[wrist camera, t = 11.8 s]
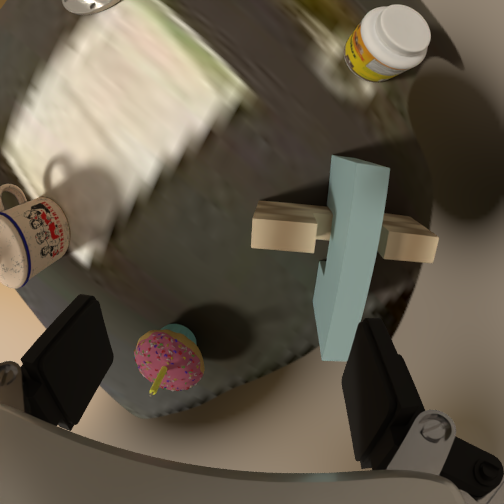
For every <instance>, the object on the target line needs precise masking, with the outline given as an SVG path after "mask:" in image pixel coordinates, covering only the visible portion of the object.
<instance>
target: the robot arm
mask: <svg viewBox="0 0 504 504" xmlns="http://www.w3.org/2000/svg"><path fill="white" fill-rule="evenodd" d="M119 1H120V0H62V3H63V5H64V7H65V8H66V9H67V10H69V11H70V12H72V13H75V14H78V15H90V14H94V13H98V12H100V11H103V10H105V9H107V8H109V7H111V6H113V5H114V4H116V3H117V2H119ZM21 361H22V363H23V365H22V366H21V367H20V366H19V365H18V364H17V363H15V362H13V361H6V362H3V363H0V504H504V477H503V474H504V471H503V466H502V464H501V462H500V461H499V459H498V458H496V457H495V456H494V455H492V454H490V453H488V452H486V451H483V450H481V449H479V448H477V447H475V446H473V445H471V444H469V443H467V442H466V441H464V440H462V439H460V438H457V437H456V436H455V435H456V427H455V424H454V422H453V420H452V419H451V418H450V417H449V416H448V415H447V414H445V413H443V412H441V411H437V410H427V411H425V409H424V406H423V404H422V401H421V399H420V397H419V394H418V392H417V389H416V387H415V384H414V382H413V380H412V377H411V375H410V373H409V371H408V368H407V366H406V364H405V361H404V359H403V358H402V356H401V355H399V354H397V351H396V349H395V347H394V345H393V342H392V340H391V338H390V336H389V334H388V331H387V329H386V327H385V325H384V323H383V321H382V319H380V318H365V319H364V320H363V322H359V324H358V326H357V330H356V333H355V337H354V340H353V344H352V347H351V351H350V354H349V357H348V361H347V364H346V367H345V370H344V373H343V376H342V389H343V393H344V398H345V403H346V409H347V415H348V419H349V425H350V431H351V437H352V442H353V449H354V454H355V459H356V461H360V463H361V468H362V469H365V468H372V470H370V471H353V472H339V473H338V472H337V473H264V472H249V471H237V470H227V469H219V468H211V467H204V466H198V465H191V464H186V463H179V462H175V461H170V460H165V459H160V458H155V457H151V456H147V455H143V454H139V453H135V452H132V451H128V450H124V449H121V448H117V447H114V446H110V445H107V444H104V443H101V442H98V441H95V440H92V439H89V438H86V437H83V436H81V435H78V434H75V433H72V432H70V431H71V430H72V428H73V426H74V425H76V424H78V422H79V421H80V419H81V417H82V415H83V413H84V412H85V410H86V408H87V406H88V404H89V402H90V400H91V399H92V397H93V395H94V393H95V392H96V390H97V388H98V387H99V385H100V383H101V381H102V380H103V378H104V376H105V374H106V373H107V371H108V369H109V368H110V366H111V364H112V362H113V352H112V348H111V345H110V342H109V338H108V335H107V331H106V327H105V323H104V320H103V316H102V312H101V308H100V304H99V302H98V301H97V300H96V298H95V297H94V296H90V295H84V294H80V295H78V296H77V297H76V298H75V300H74V301H73V302H72V303H71V304H70V305H69V306H68V307H67V308H66V309H65V310H64V311H63V312H62V313H61V314H60V315H59V316H58V317H57V318H56V320H55V321H54V322H53V323H52V324H51V325H50V326H49V327H48V328H47V329H46V330H45V332H44V333H43V334H42V335H41V336H40V337H39V338H38V339H37V341H36V342H35V343H34V344H33V345H32V346H31V348H30V349H29V350H28V351H27V352H26V353H25V354H24V356H23V357H22V358H21ZM57 425H59V426H60V427H62V428H64V429H62V428H60V427H57ZM65 429H67V430H69V431H67V430H65Z"/></svg>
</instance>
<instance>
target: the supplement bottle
mask: <svg viewBox="0 0 504 504" xmlns="http://www.w3.org/2000/svg"><path fill="white" fill-rule="evenodd" d="M430 39H431V33H430V29H429V26H428V24H427V23H426V21H425V20H424V18H423V17H422V16H421V15H420V14H419V13H418V12H416V11H415V10H413V9H412V8H410V7H407V6H404V5H391V6H388V7H378V8H375V9H373V10H371V11H370V12H368V13H367V14H366V15H365V17H364V18H363V19H362V21H361V22H360V24H359V25H358V26H357V28H356V29H355V30H354V32H353V33H352V35H351V36H350V37H349V39H348V41H347V42H346V44H345V48H344V57H345V61H346V63H347V65H348V67H349V68H350V70H351V71H352V72H353V73H354V74H355V75H357V76H358V77H359V78H361V79H363V80H366V81H369V82H383V81H386V80H388V79H390V78H392V77H394V76H396V75H399V74H401V73H403V72H405V71H407V70H409V69H411V68H413V67H415V66H417V65H418V64H420V63H421V62H422V61H423V59H424V58H425V56H426V53H427V47H428V45H429V43H430Z"/></svg>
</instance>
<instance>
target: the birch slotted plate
mask: <svg viewBox="0 0 504 504" xmlns="http://www.w3.org/2000/svg"><path fill="white" fill-rule="evenodd" d="M332 219H333V213H332V212H331V210H330V209H329V207H327V206H316V205H306V204H295V203H283V202H271V201H259V202H258V205H257V208H256V210H255V213H254V216H253V222H252V240H251V248H260V249H272V250H284V251H296V252H308V253H314V248H315V240H316V239H319V240H330V234H331V227H332ZM438 240H439V237H438V236H437V235H435V234H434V233H432V232H431V231H430V230H428V229H427V228H426V227H424V226H423V225H421V224H420V223H418V222H417V221H416V220H414V219H413V218H411V217H410V216H403V215H395V214H387V213H384V216H383V222H382V228H381V233H380V239H379V244H378V249H377V251H378V252H379V254H380V255H381V256H382V258H383V259H390V260H401V261H413V262H424V263H433V261H434V257H435V253H436V249H437V245H438Z"/></svg>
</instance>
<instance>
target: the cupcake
mask: <svg viewBox="0 0 504 504" xmlns="http://www.w3.org/2000/svg"><path fill="white" fill-rule="evenodd" d="M134 353H135V355H134V358H135V360H136V363H137V366H138V368H139V370H140V373H141V374H143V375H144V376H145V377H146V378H147V379H148V380H149V381H150V382H152V383H153V385H152V387H151V389H150V393H151V394H150V397H152V395H155V394H156V392H157V390H158V388H159V387H161V388H162V389H169V390H172V391H175V390H176V391H179V390H185V389H186V390H187V389H189V388H192V386H194V385H197V384H196V383H197V382H198V381H199V380H200V379H201V378H202V376H203V373H204V362H203V358H202V355H201V352H200V350H199V348H198V347H197V345H196V338H195V336H194V334H193V333H192V332H191V331H190V330H189V329H188V328H186V327H185V326H182V325H179V324H169V325H166V326H165V327H163V328H162V329H161V330H152V331H149V332H147V333H146V334H144V335H143V336H142V337H141V338H140V339H139V341H138V343H137V347H136V349H135V350H134Z"/></svg>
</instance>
